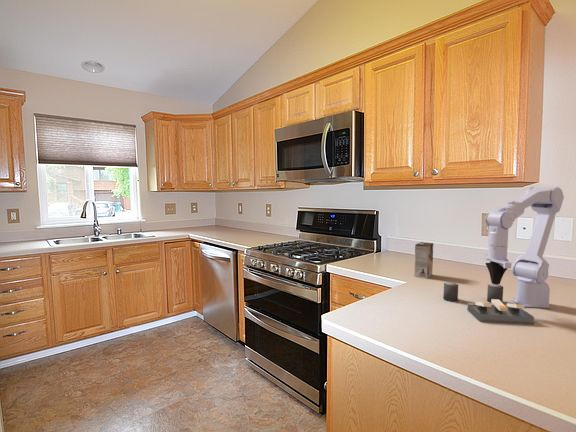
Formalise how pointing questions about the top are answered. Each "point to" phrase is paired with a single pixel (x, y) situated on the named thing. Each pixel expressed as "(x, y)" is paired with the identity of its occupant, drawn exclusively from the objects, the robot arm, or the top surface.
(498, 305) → the paddle mid
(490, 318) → the panel
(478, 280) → the top surface
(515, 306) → the paddle
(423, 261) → the coffee box
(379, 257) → the top surface
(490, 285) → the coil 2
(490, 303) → the paddle
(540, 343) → the top surface
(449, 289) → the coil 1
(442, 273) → the top surface
